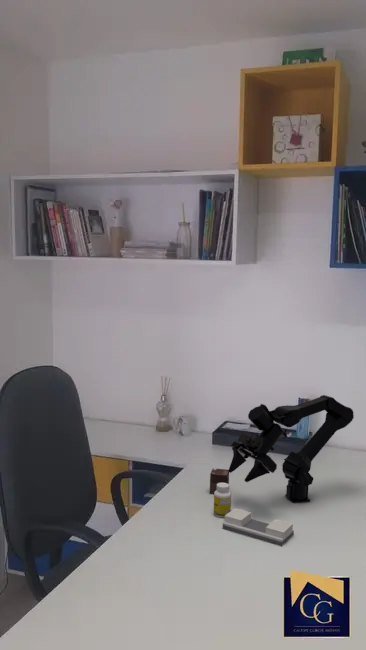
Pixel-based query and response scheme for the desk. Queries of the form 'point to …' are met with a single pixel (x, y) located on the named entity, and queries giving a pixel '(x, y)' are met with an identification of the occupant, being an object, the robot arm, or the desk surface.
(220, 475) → the box
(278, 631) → the desk surface
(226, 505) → the supplement bottle
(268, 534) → the rail plate
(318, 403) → the robot arm
